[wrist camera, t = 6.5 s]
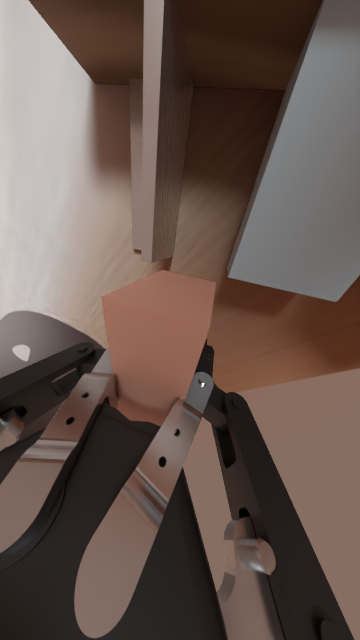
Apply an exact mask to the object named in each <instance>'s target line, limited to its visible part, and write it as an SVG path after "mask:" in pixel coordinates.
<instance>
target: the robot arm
mask: <svg viewBox="0 0 360 640" xmlns="http://www.w3.org/2000/svg"><path fill="white" fill-rule="evenodd" d="M213 358H214V350H213V348H212V346H209V345H207V339H206V341H205V344H204V347H203V349H202V352H201V355H200V358H199V361H198V364H197V367H196V370H195V373H194V376H193V379H192V381H191V384H190V387H189V390H188V393H187V396H186V399H184V398H180V399H178V400H177V402H176V403H175V405H174V406H173V408H172V410H171V411H170V413H169V414H168V416H167V418H166V419H165V421H164V423H163V424H162V426H158V425H156V424H153V423H151V422H144V421H131V420H129V419H128V418H127V417H125V416H124V415H123V414H122V413H121V412H120V411H119V410H117V406H118V400H119V394H117V393H116V390H115V382H116V379H117V378H116V373H113V371H112V364H111V358H110V351H109V347H108V348H107V349H95V347H94V345H93V344H92V343H89V342H84V343H79V344H77V345H74V346H72V347H70V348H68V349H66V350H63V351H61V352H59V353H56V354H54V355H52V356H50V357H48V358H45V359H43V360H41V361H39V362H36V363H34V364H32V365H30V366H27V367H25V368H23V369H20V370H18V371H16V372H14V373H12V374H9V375H7V376H5V377H2V378H0V640H354V638H353V636H352V634H351V632H350V630H349V627H348V625H347V623H346V621H345V618H344V616H343V614H342V612H341V609H340V607H339V606H338V603H337V601H336V598H335V596H334V594H333V592H332V590H331V587H330V585H329V583H328V581H327V579H326V576H325V574H324V572H323V570H322V568H321V565H320V563H319V561H318V559H317V557H316V554H315V552H314V550H313V548H312V545H311V543H310V541H309V539H308V537H307V534H306V532H305V530H304V528H303V526H302V524H301V521H300V519H299V517H298V515H297V513H296V510H295V508H294V506H293V504H292V501H291V499H290V497H289V495H288V492H287V490H286V488H285V486H284V484H283V481H282V479H281V477H280V475H279V473H278V470H277V468H276V466H275V464H274V462H273V459H272V457H271V455H270V453H269V450H268V448H267V446H266V444H265V442H264V440H263V437H262V435H261V433H260V431H259V428H258V426H257V424H256V422H255V420H254V417H253V415H252V413H251V411H250V409H249V407H248V404H247V402H246V401H245V399H243V397H242V396H240V395H239V394H237V393H234V392H229V393H225V392H224V391H222V390H221V389H219V388H218V387H217V386H216V385H215V383H214V381H213V378H212V373H213ZM75 367H76V370H75V371H73V372H71V373H69V374H68V375H66V376H64V377H63V378H61V379H59V380H57V381H55V382H53V383H51V382H52V381H53V380H54V379H55V378H57V377H59V376H61V375H62V374H64V373H66V372H68V371H70V370H71V369H73V368H75ZM65 399H66V400H65ZM64 400H65V402H64V403H63V405H62V406H61V408H60V409H59V410H58V412H57V414H56V415H55V416H54V418H53V419H52V421H51V422H50V424H49V425H48V427H46V428H44V429H42V430H40V431H38V432H36V433H34V434H32V435H30V436H29V437H27V438H25V439H23V440H21V441H19V442H17V443H15V442H16V441H17V440H18V439H19V437H20V432H21V430H22V429H23V428H24V427H26V426H27V425H29V424H30V423H31V422H33V421H34V420H36V419H37V418H39V417H40V416H42V415H43V414H45V413H46V412H48V411H49V410H51V409H52V408H53V407H55V406H56V405H58V404H59V403H61V402H62V401H64ZM202 416H203V417H204V418H205V419H206V420H208V421H209V422H210V423H211V424H212V429H213V434H214V438H215V442H216V447H217V452H218V457H219V461H220V466H221V471H222V475H223V480H224V484H225V489H226V493H227V498H228V503H229V508H230V512H231V517H232V520H231V521H230V522H229V523H228V524H227V526H226V529H225V533H224V555H225V570H224V577H223V581H222V584H221V586H220V588H219V590H218V591H217V593H216V589H215V585H214V581H213V578H212V574H211V570H210V566H209V563H208V559H207V555H206V552H205V548H204V544H203V540H202V537H201V533H200V529H199V525H198V522H197V518H196V514H195V510H194V507H193V503H192V500H191V496H190V492H189V488H188V484H187V481H186V477H185V474H184V470H183V464H184V462H185V459H186V457H187V454H188V451H189V449H190V446H191V444H192V441H193V439H194V436H195V434H196V431H197V429H198V426H199V424H200V421H201V418H202ZM14 443H15V444H14ZM12 444H13V445H12ZM10 445H11V446H10ZM5 446H9V447H7V448H5V449H3V448H4V447H5ZM2 449H3V450H2Z"/></svg>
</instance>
